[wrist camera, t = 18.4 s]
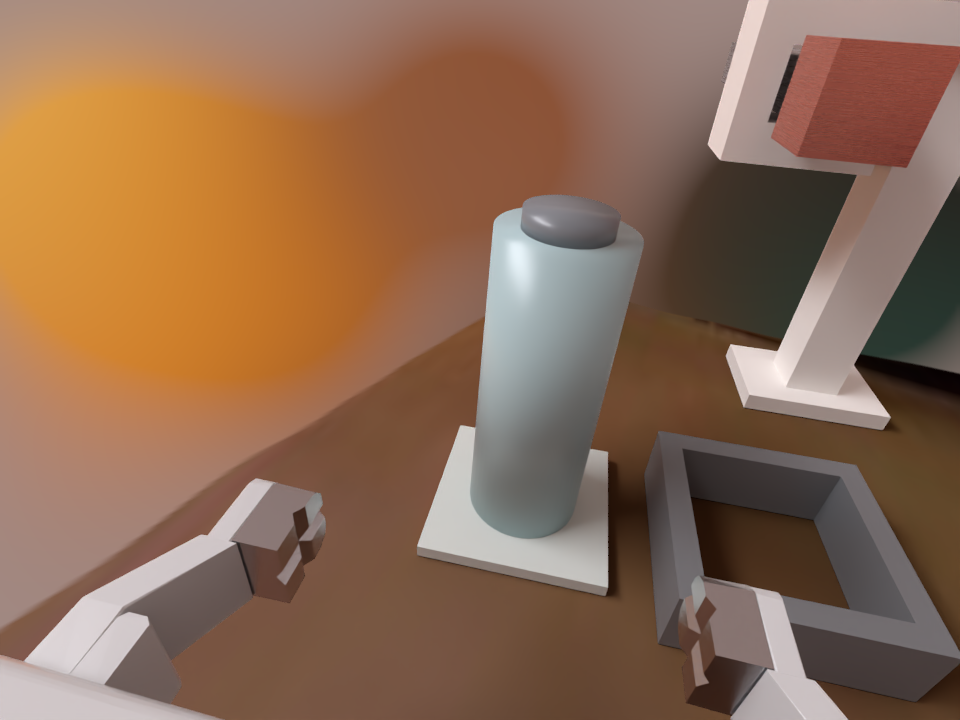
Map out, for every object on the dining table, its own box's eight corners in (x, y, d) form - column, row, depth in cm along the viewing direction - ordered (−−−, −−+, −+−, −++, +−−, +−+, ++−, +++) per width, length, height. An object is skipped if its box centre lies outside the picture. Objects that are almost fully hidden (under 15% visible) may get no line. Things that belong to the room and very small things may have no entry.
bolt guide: (845, 374, 36) (1045, 13, 25) (882, 430, 31) (1155, 12, 20) (647, 344, 38) (746, -6, 26) (653, 392, 33) (778, -12, 21)
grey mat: (605, 460, 28) (607, 452, 28) (605, 596, 21) (608, 587, 21) (460, 433, 29) (460, 425, 29) (417, 555, 22) (417, 546, 22)
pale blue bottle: (577, 466, 26) (644, 198, 19) (572, 549, 22) (655, 249, 15) (481, 448, 27) (507, 180, 19) (459, 525, 23) (482, 224, 15)
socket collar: (828, 508, 26) (856, 465, 24) (915, 702, 19) (964, 659, 17) (644, 473, 27) (658, 430, 26) (658, 643, 20) (679, 598, 18)
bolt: (768, 98, 37) (790, 32, 35) (906, 167, 20) (967, 46, 18) (710, 93, 38) (728, 27, 36) (796, 156, 21) (842, 38, 18)
